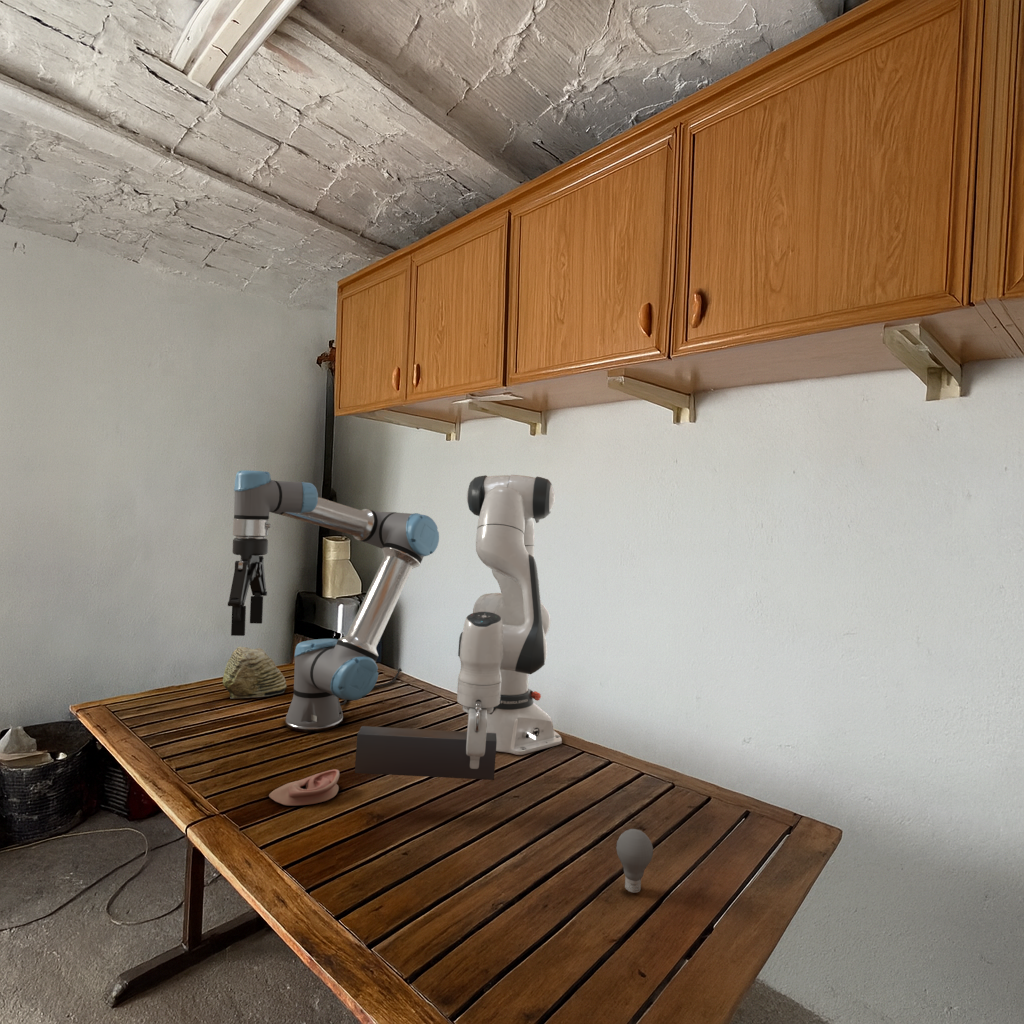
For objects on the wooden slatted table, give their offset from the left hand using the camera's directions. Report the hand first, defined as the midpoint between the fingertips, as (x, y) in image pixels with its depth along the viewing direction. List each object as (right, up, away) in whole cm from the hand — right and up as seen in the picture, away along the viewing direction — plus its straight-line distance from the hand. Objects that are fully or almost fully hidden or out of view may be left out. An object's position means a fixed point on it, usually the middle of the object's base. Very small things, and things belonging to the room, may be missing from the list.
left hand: (247, 629), depth 146 cm
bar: (+44, -26, -18) cm, 54 cm away
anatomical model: (+17, -33, -12) cm, 39 cm away
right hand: (+54, -24, -18) cm, 61 cm away
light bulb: (+81, -36, -41) cm, 98 cm away
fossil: (-19, -30, +52) cm, 63 cm away
